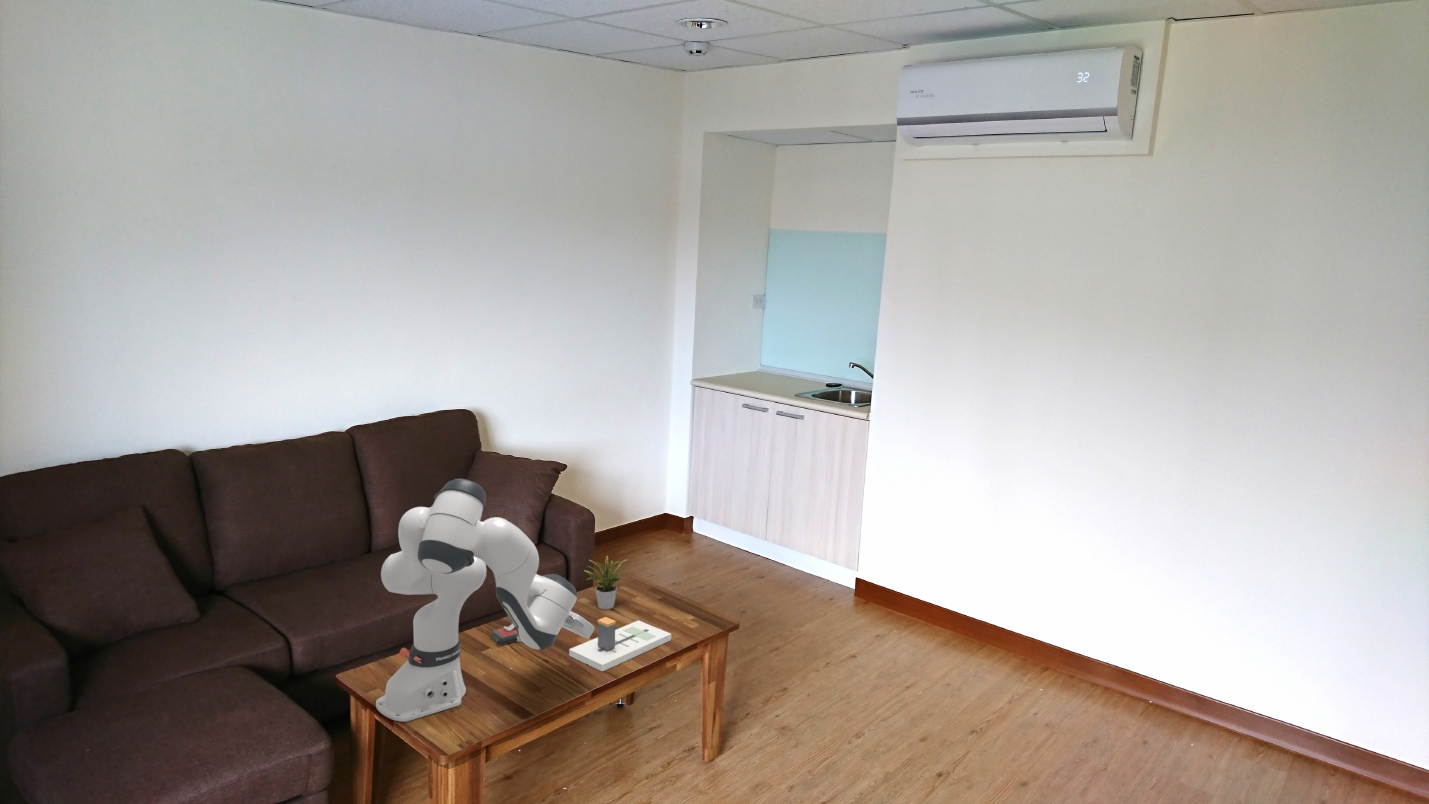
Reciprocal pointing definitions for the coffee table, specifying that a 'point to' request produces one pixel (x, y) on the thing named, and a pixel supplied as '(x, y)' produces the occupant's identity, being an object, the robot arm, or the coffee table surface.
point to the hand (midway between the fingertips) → (579, 631)
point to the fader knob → (606, 633)
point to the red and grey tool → (505, 635)
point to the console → (621, 646)
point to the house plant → (605, 584)
